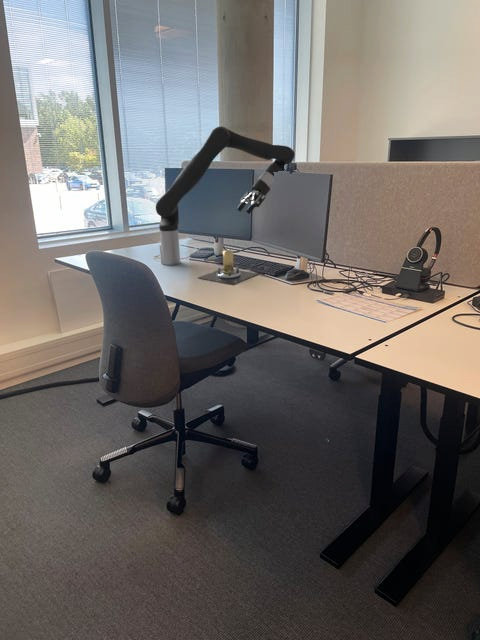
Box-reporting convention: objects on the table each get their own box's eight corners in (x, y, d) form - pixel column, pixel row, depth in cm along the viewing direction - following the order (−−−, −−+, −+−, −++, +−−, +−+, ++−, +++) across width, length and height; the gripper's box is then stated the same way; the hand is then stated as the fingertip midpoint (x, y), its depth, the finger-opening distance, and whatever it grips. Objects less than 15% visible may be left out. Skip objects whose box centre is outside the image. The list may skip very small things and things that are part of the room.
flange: (197, 278, 207) (197, 269, 206) (224, 268, 222) (224, 260, 221) (233, 285, 196) (232, 275, 194) (258, 274, 211) (258, 265, 209)
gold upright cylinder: (220, 273, 208) (219, 251, 204) (227, 270, 212) (226, 249, 208) (229, 275, 205) (229, 253, 201) (236, 272, 209) (235, 250, 205)
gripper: (251, 177, 214) (230, 204, 213) (267, 179, 202) (245, 207, 201) (261, 188, 218) (240, 214, 217) (277, 191, 207) (255, 218, 206)
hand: (242, 211), depth 209 cm, fingers open, 8 cm apart
